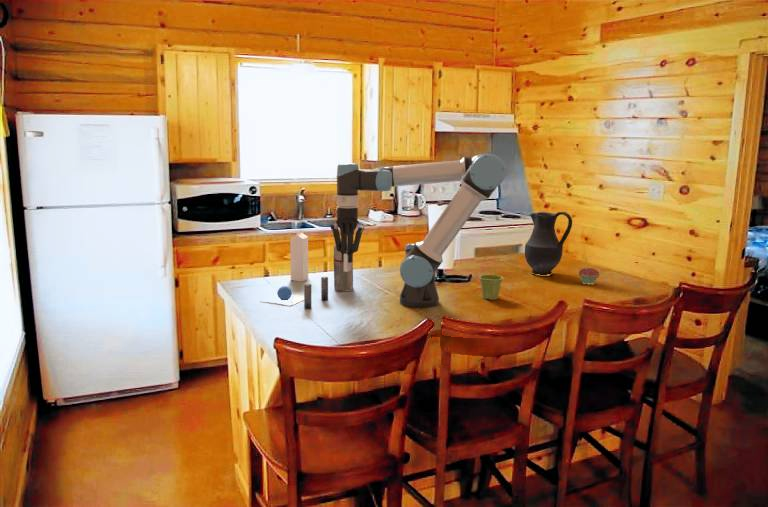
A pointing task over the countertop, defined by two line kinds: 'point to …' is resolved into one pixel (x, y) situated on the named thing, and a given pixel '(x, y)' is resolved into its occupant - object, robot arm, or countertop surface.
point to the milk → (299, 256)
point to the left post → (307, 296)
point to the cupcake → (588, 274)
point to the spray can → (342, 273)
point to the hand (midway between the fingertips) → (347, 270)
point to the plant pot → (490, 286)
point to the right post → (324, 288)
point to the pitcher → (545, 243)
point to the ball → (284, 293)
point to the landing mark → (297, 299)
